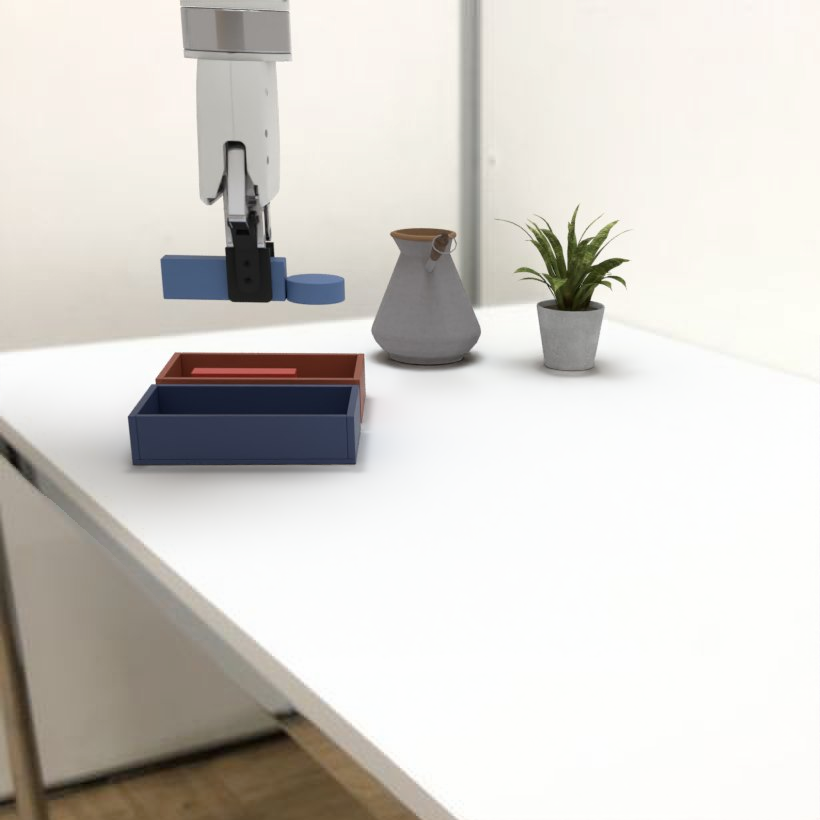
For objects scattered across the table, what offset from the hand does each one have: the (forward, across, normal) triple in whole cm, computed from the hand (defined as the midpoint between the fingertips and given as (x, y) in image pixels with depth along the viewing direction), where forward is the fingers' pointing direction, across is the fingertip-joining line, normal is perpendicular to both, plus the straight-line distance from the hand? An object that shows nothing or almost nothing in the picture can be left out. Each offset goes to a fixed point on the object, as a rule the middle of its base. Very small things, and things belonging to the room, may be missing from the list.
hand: (252, 296), depth 104 cm
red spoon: (+13, -16, -1) cm, 20 cm away
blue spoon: (0, 0, 0) cm, 0 cm away
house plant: (+13, -33, +27) cm, 44 cm away
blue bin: (+13, -4, -1) cm, 13 cm away
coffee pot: (+13, -32, +14) cm, 37 cm away
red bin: (+13, -16, -1) cm, 20 cm away
